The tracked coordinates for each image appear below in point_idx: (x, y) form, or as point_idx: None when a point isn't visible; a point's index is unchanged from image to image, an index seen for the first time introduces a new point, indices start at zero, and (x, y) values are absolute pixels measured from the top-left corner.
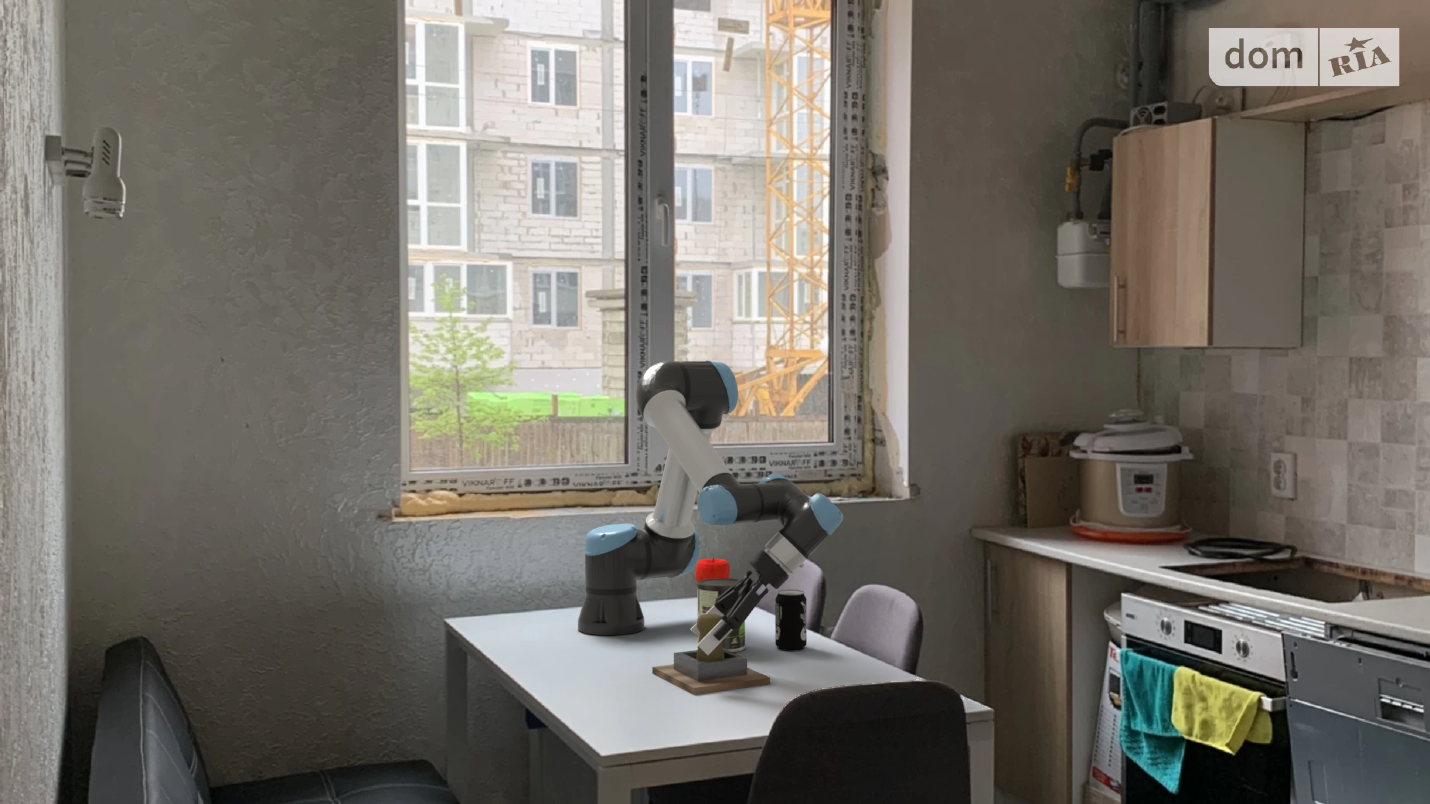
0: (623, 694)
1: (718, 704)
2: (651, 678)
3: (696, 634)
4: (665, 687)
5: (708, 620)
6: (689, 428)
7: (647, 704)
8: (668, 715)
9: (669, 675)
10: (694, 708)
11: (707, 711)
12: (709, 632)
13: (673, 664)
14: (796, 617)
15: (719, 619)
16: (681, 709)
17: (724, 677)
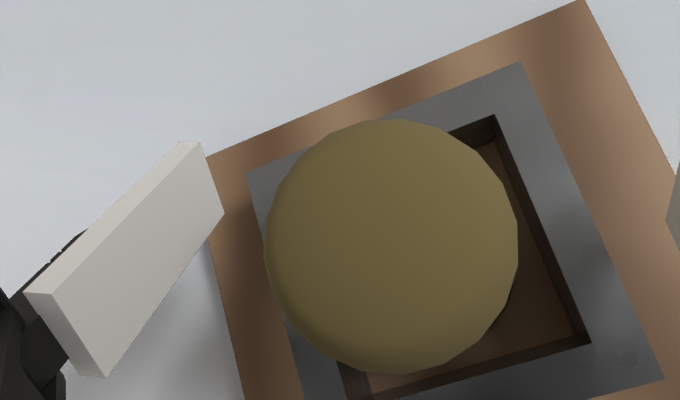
0: None
1: None
2: (477, 15)
3: (675, 182)
4: (322, 71)
5: (271, 205)
6: None
7: (133, 17)
8: (19, 79)
9: (399, 76)
10: (58, 158)
11: (21, 195)
12: (131, 200)
13: (629, 98)
14: None
15: (288, 315)
16: (60, 118)
17: None
